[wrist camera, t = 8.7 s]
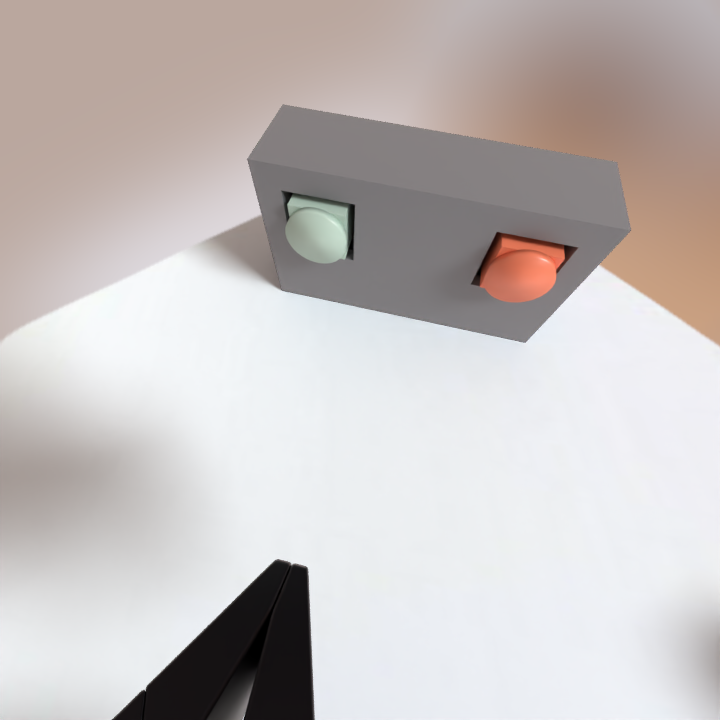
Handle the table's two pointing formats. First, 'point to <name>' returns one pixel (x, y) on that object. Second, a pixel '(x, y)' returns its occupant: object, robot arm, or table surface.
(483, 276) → the button red
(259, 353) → the table surface
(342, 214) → the button green
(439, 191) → the control box
